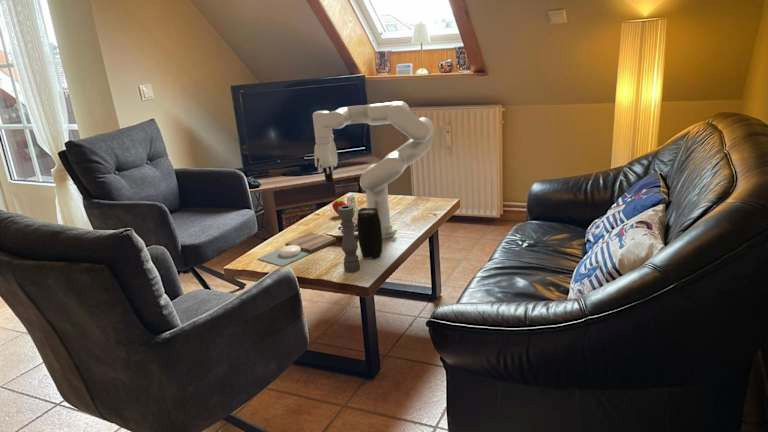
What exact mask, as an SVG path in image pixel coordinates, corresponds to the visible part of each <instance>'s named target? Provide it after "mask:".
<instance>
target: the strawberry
mask: <svg viewBox="0 0 768 432" xmlns="http://www.w3.org/2000/svg"><path fill="white" fill-rule="evenodd" d="M340 198H341V197H340V196H339V199H335V200H333V203H332V209H333V211H334V212H335V213H336V214H337V215H338V216H339V214H338V207H340V206H343V205H347V203H346V202H345V200H344V198H341V199H340Z"/></svg>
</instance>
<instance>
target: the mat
mask: <svg viewBox="0 0 768 432" xmlns="http://www.w3.org/2000/svg"><path fill="white" fill-rule="evenodd" d="M279 249H280V248H278V249H276V250H274V251H272V252H270V253H267V254H265V255H262V256H260V257H258V258H257V261H261V262H265V263H268V264H272V265H276V266H278V267H282V266H284V267H286V266H288V265H290V264H293V263H294V262H297V261H298V260H300V259H303V258H305V257H307V256H309V255H311V253H308V252H304V251H301V253H300V254H299V255H297V256H294V257H281V256H280V255H279Z"/></svg>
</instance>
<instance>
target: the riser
mask: <svg viewBox="0 0 768 432" xmlns="http://www.w3.org/2000/svg"><path fill="white" fill-rule="evenodd" d="M336 242H337V238H336V237H333V236H328V235H323V234H319V233H314V232H307V233H305V234H304V235H300V236H299V237H296V238H295V239H292V240H289V241H287V242H285V243H284V244H285V246H290V245H297V246H300V248H301V251H304V252H308V253H310V254H314V253H316V252H318V251H320V250H321V249H324V248H326V247H328V246H331V245H332V244H334V243H336Z"/></svg>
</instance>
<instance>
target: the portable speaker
mask: <svg viewBox="0 0 768 432" xmlns="http://www.w3.org/2000/svg"><path fill="white" fill-rule="evenodd" d="M357 212H358V213H357V221H356V227H357V228H356V229H357V236H358V244H359V245H358V246H359V248H360V252H361V253H360V254H361V256H362V258H363V259H366V258H368V259H372V260H378V259H379V258H381V257H382V253H383V239H382V231H381V222H380V218H379V215H378V210H377V208H367V207H361V208H359V209H358V211H357Z"/></svg>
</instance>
